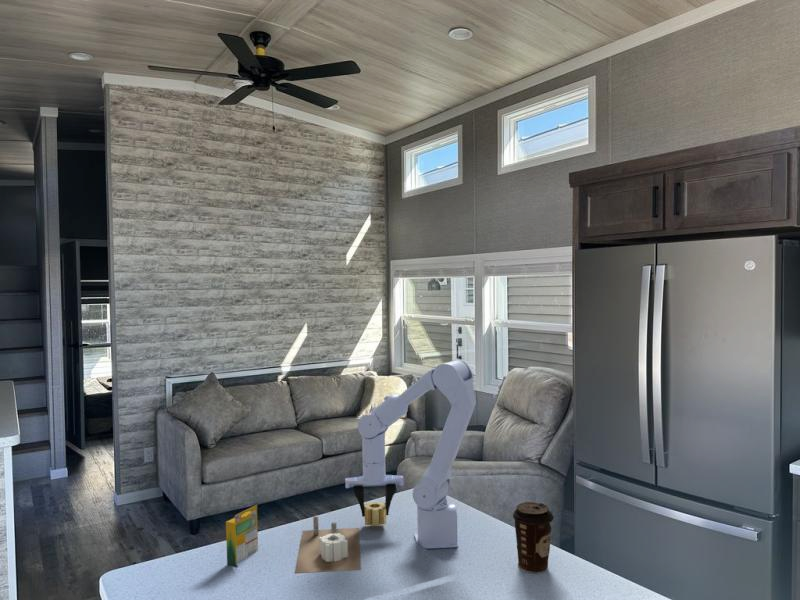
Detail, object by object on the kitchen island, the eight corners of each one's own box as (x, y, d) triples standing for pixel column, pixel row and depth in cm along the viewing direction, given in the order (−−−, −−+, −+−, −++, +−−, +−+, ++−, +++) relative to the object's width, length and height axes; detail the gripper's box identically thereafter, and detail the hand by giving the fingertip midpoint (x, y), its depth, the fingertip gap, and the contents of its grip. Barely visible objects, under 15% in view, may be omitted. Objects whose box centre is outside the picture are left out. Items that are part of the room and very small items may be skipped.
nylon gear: (340, 548, 136) (339, 531, 135) (348, 558, 131) (348, 540, 131) (318, 553, 133) (317, 536, 133) (326, 563, 128) (326, 545, 128)
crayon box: (249, 551, 137) (248, 502, 137) (258, 554, 136) (258, 504, 135) (226, 564, 131) (225, 513, 130) (236, 567, 129) (235, 515, 129)
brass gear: (385, 517, 150) (384, 501, 150) (386, 525, 145) (386, 509, 145) (364, 518, 150) (364, 502, 150) (364, 526, 145) (364, 510, 145)
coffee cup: (555, 561, 130) (555, 502, 130) (552, 578, 122) (552, 516, 122) (516, 555, 133) (515, 498, 133) (510, 572, 125) (510, 512, 125)
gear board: (359, 531, 147) (358, 510, 147) (360, 574, 125) (360, 548, 125) (302, 534, 146) (302, 512, 146) (294, 577, 124) (294, 552, 124)
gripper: (401, 454, 152) (402, 507, 152) (345, 457, 151) (346, 510, 151) (403, 462, 145) (405, 517, 145) (344, 465, 144) (346, 520, 144)
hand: (375, 514), depth 148 cm, fingers closed on brass gear, 5 cm apart
